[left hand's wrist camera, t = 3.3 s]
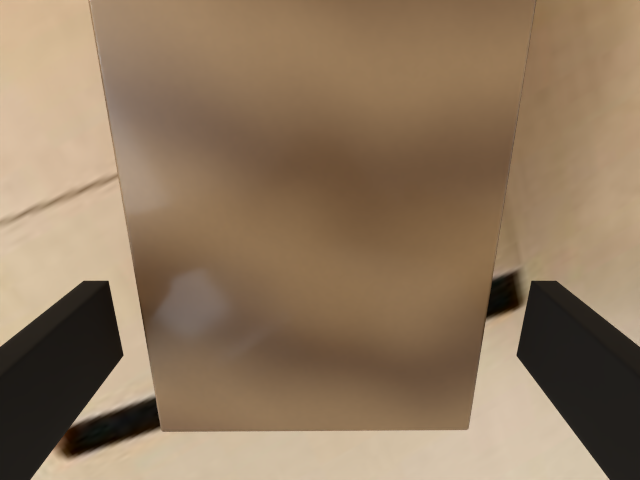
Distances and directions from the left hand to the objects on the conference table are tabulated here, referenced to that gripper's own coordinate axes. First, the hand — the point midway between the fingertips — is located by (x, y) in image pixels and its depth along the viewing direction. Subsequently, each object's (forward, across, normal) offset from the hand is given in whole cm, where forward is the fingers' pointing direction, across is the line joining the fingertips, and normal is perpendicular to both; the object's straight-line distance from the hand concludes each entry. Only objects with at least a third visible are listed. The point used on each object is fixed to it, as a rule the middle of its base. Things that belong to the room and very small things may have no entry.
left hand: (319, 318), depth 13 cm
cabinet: (+10, 0, -6) cm, 11 cm away
